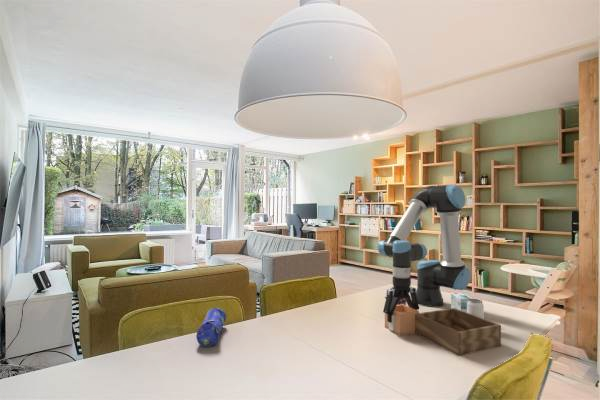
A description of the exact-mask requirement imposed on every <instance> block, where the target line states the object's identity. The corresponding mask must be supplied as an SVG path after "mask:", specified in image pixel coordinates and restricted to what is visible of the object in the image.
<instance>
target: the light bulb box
mask: <svg viewBox="0 0 600 400" xmlns="http://www.w3.org/2000/svg"><path fill="white" fill-rule="evenodd" d="M468 299H474V298H473V297H472V296H469V295H468V294H466V293H462V292H450V306H451V308H456V309H458V310H461V311H464V312H466V313H467V302H468Z"/></svg>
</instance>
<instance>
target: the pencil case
mask: <svg viewBox="0 0 600 400" xmlns="http://www.w3.org/2000/svg"><path fill="white" fill-rule="evenodd" d="M226 318H227V314H226V312H225V311H224V310H223V309H222V308H219V307H213V308H211V309H209V310H208V311H207V312H206V315H205V317H204V320H203V322H202V325H200V326H199V328H198V329H197V332H196V341H197V343H198V344H199V345H200V346H201V347H204V348H210V347H212V346H213V345H215V344H216V343H217V342H218V341H219V339H220V334H221V331H222V329H223V326H224V324H225V322H226ZM209 346H210V347H209Z"/></svg>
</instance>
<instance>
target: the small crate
mask: <svg viewBox="0 0 600 400" xmlns="http://www.w3.org/2000/svg"><path fill="white" fill-rule="evenodd" d="M406 305H407V304H406ZM406 305H404V304H400V305H396V308H395V310H394V312H393V315H394V331H392V330H390V329H389V322H388V321H387V314H386V313H384V328H385V329H387V330H389V331H391V332H393V333H394V334H396V335H397V336H399V337H400V336H406V335H410V334H411V335H412V334H416V333H415V314H418V313H420V310H416V309H413V308H411V307H409V306H408V305H407V306H406Z"/></svg>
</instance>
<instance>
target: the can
mask: <svg viewBox="0 0 600 400" xmlns="http://www.w3.org/2000/svg"><path fill="white" fill-rule="evenodd" d="M484 310H485V309H484V303H483V300H481V299H477V298H473V299H468V302H467V313H469V314H472V315H475V316H477V317H480V318H483V319H485V318H484V317H485V315H484V314H485V312H484Z"/></svg>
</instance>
